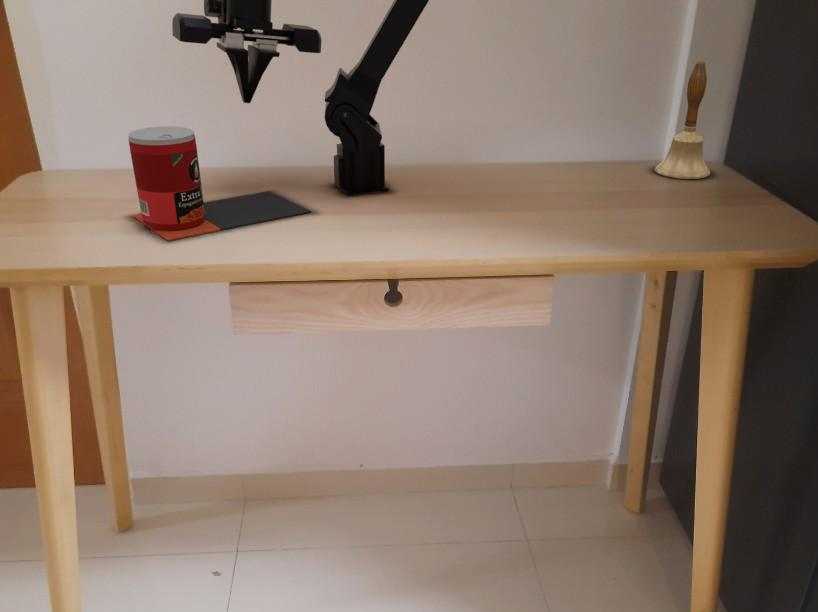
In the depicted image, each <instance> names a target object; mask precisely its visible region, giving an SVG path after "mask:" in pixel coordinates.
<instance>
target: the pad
mask: <svg viewBox="0 0 818 612" xmlns="http://www.w3.org/2000/svg"><path fill="white" fill-rule="evenodd" d="M132 217H133V218H134V219H135V220H137V221H138V222H140V224H142V225H144V226H145V227H147V228H148V229H150V230H151V231H152V232H153V233H155V234H157V235H158V236H159V237H161V238H162V239H164V240H165V241H166V242H171V241H175V240H180V239H185V238H186V239H187V238H191V237H196V236H201V235H205V234H210V233H211V234H212V233H215V232H220V231H222V230H221V229H220V228H218V227H217V226H215V225H213V224H212V223H210V222H208V221H207V220H205V219H204V221H203V222H202V223H201V224H200V225H198V226H195V227H192V228H188V229H183V230H156V229H152V228H150V227H148V226H146V225H145V223H144V221H143V219H142V215H141V213H138V214H133V215H132Z"/></svg>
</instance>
